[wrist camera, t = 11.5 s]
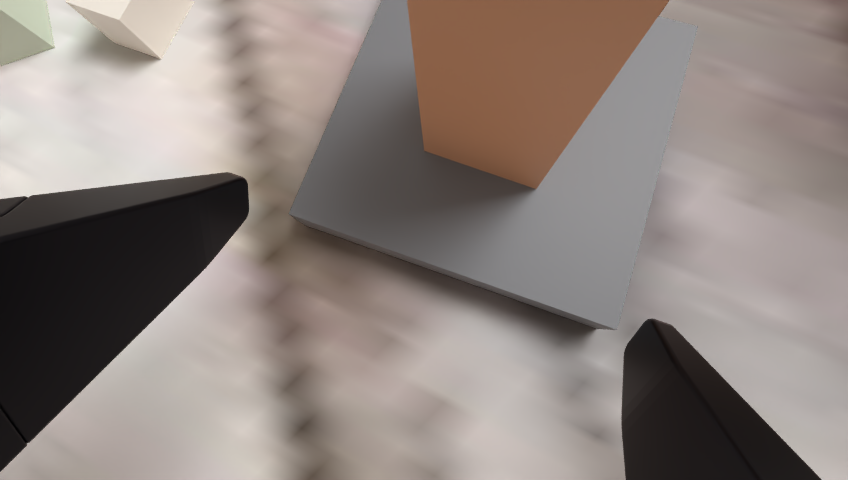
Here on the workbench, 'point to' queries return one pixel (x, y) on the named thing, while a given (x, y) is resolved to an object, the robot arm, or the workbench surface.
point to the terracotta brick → (517, 75)
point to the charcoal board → (499, 181)
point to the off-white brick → (136, 21)
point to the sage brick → (24, 29)
